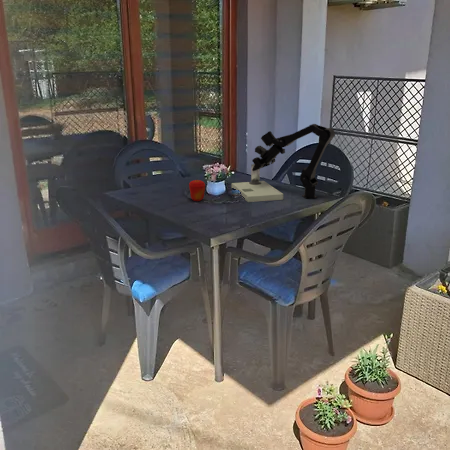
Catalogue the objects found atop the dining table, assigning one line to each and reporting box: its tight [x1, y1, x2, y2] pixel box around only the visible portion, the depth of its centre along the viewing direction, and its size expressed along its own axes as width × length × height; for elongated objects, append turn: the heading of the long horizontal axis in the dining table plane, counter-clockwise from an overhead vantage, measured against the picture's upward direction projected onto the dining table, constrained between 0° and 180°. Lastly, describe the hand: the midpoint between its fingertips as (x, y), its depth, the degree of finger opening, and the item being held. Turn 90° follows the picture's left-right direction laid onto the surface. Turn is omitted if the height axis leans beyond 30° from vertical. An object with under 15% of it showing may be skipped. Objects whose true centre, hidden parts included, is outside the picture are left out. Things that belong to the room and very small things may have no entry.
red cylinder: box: [188, 179, 206, 202], centre depth 262 cm, size 9×8×12 cm
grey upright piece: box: [250, 163, 261, 182], centre depth 284 cm, size 5×5×12 cm
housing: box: [231, 180, 284, 203], centre depth 276 cm, size 30×20×3 cm, turn 16°
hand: (254, 169), depth 285 cm, fingers closed on grey upright piece, 5 cm apart
